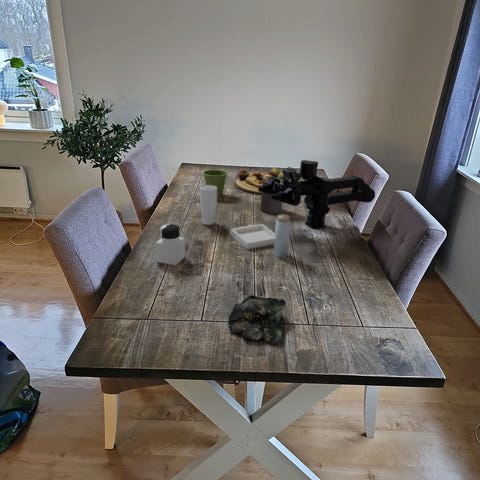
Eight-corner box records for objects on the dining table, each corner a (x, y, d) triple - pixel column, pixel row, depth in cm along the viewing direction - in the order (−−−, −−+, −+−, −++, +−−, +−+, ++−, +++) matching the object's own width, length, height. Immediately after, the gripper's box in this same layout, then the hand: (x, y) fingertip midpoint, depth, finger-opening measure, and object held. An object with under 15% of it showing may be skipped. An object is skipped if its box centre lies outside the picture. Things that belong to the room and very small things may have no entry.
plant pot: (232, 194, 206) (232, 172, 202) (218, 200, 197) (218, 177, 193) (212, 190, 212) (212, 167, 208) (197, 195, 203) (197, 172, 198)
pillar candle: (257, 211, 186) (259, 178, 180) (264, 205, 194) (266, 173, 188) (278, 215, 183) (281, 182, 177) (284, 208, 191) (288, 176, 185)
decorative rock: (294, 333, 101) (231, 330, 99) (289, 353, 104) (228, 350, 102) (281, 287, 117) (227, 284, 116) (278, 305, 120) (225, 302, 118)
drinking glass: (214, 227, 168) (214, 190, 162) (197, 225, 169) (197, 189, 163) (218, 221, 174) (219, 185, 168) (202, 219, 175) (202, 184, 169)
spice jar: (282, 250, 151) (285, 213, 145) (290, 256, 147) (293, 218, 141) (271, 253, 149) (273, 215, 143) (278, 258, 145) (281, 220, 139)
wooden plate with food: (222, 187, 218) (223, 171, 215) (256, 174, 242) (257, 159, 239) (276, 202, 202) (278, 185, 199) (306, 186, 226) (308, 171, 223)
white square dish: (261, 229, 168) (262, 223, 166) (280, 243, 156) (281, 237, 155) (229, 235, 162) (230, 229, 161) (246, 249, 150) (247, 243, 149)
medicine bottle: (185, 257, 143) (184, 224, 138) (175, 266, 137) (174, 231, 132) (166, 253, 145) (165, 220, 140) (156, 262, 139) (154, 228, 134)
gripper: (288, 162, 167) (253, 165, 161) (316, 174, 152) (279, 178, 145) (285, 189, 172) (252, 193, 165) (313, 203, 157) (277, 209, 150)
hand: (264, 193), depth 156 cm, fingers open, 9 cm apart
